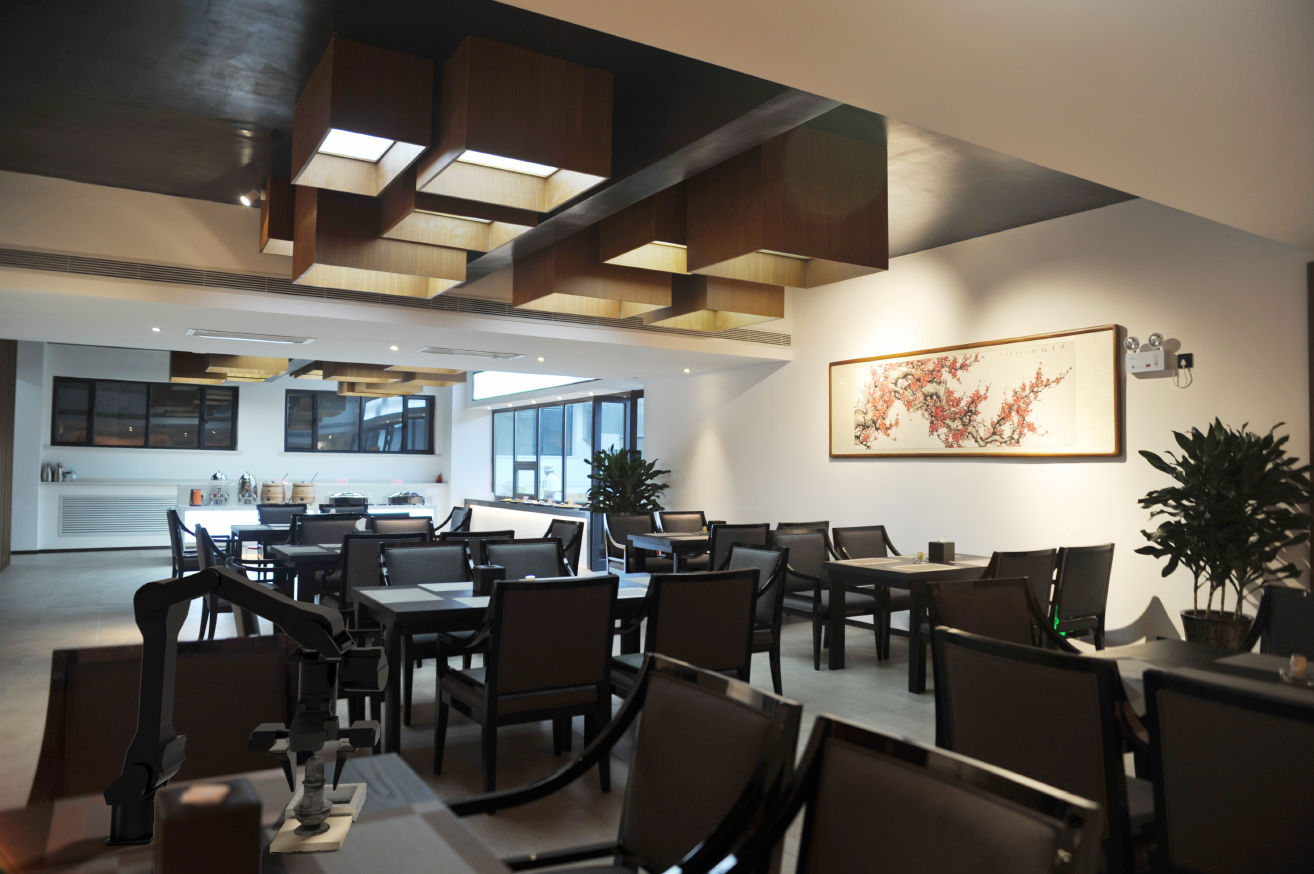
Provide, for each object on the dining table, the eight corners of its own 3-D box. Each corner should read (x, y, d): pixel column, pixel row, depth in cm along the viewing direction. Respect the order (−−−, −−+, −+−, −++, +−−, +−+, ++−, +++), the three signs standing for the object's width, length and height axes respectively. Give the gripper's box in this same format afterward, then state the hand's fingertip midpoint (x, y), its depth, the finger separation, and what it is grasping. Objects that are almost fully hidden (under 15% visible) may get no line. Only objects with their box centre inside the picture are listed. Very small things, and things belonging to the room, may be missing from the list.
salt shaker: (317, 838, 130) (320, 758, 131) (283, 834, 131) (287, 755, 132) (340, 824, 136) (342, 747, 136) (307, 820, 137) (310, 744, 138)
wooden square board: (269, 852, 127) (270, 844, 128) (286, 826, 137) (287, 818, 137) (339, 849, 129) (339, 841, 129) (351, 822, 139) (351, 815, 139)
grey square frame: (284, 824, 138) (285, 809, 138) (300, 799, 148) (301, 785, 149) (355, 821, 140) (355, 805, 140) (366, 797, 150) (366, 782, 150)
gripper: (239, 704, 125) (234, 813, 124) (371, 701, 128) (367, 807, 127) (260, 686, 136) (256, 786, 135) (382, 684, 139) (378, 781, 138)
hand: (314, 790), depth 134 cm, fingers open, 6 cm apart
